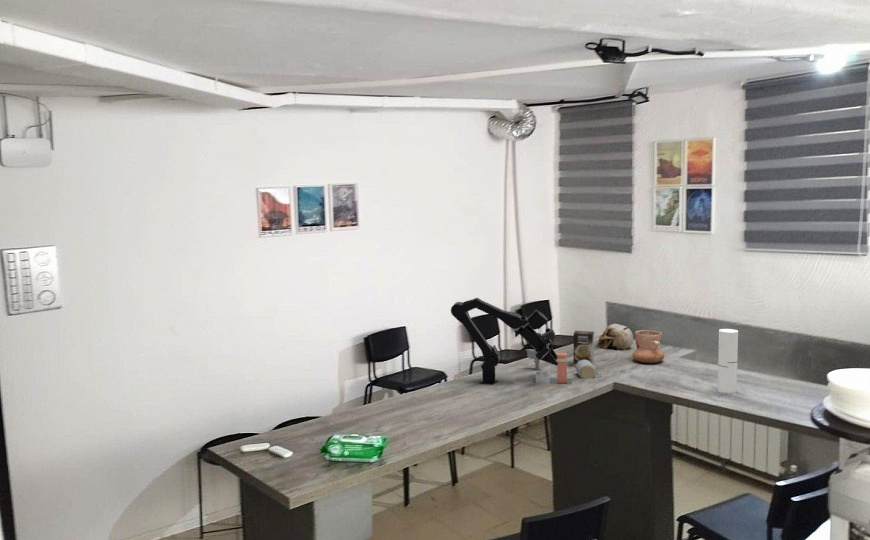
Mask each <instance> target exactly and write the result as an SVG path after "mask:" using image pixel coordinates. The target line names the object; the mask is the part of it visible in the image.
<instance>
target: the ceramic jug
mask: <svg viewBox="0 0 870 540" xmlns="http://www.w3.org/2000/svg"><path fill="white" fill-rule="evenodd" d="M662 336H663V333H662V332H661V331H656V330H647V329H640V330H636V331H635V347H636V349H635V350H634V351H633V352H632V357H633V359H634V360H635V361H637V362H639V363H643V364H656V363H659V362H661V361H663V360H664V359H665V354H664V352H663V351H662V350H660V349H659V348H658V347H659V345H660V344H661V340H662Z"/></svg>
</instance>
